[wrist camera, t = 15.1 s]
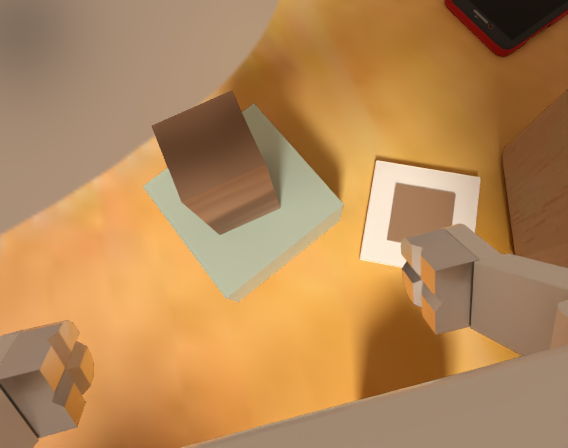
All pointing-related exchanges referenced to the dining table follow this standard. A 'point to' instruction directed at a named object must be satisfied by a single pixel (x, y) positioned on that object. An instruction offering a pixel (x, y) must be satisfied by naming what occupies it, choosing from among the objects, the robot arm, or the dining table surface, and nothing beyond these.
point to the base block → (262, 231)
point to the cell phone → (507, 20)
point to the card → (414, 207)
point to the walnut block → (217, 164)
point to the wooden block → (540, 186)
